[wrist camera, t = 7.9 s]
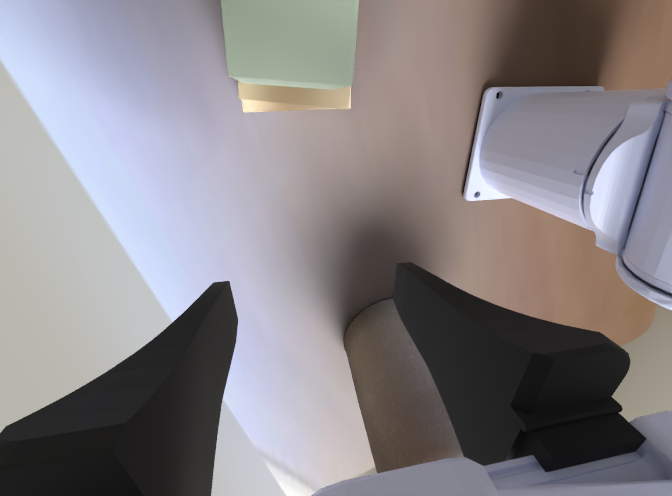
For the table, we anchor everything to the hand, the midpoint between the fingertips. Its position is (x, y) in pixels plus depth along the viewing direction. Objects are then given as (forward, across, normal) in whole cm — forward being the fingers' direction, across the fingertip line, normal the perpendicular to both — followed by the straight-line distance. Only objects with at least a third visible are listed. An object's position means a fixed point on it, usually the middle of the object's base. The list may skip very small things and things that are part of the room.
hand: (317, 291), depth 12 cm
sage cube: (+5, 0, -10) cm, 11 cm away
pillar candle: (+11, -8, +14) cm, 19 cm away
